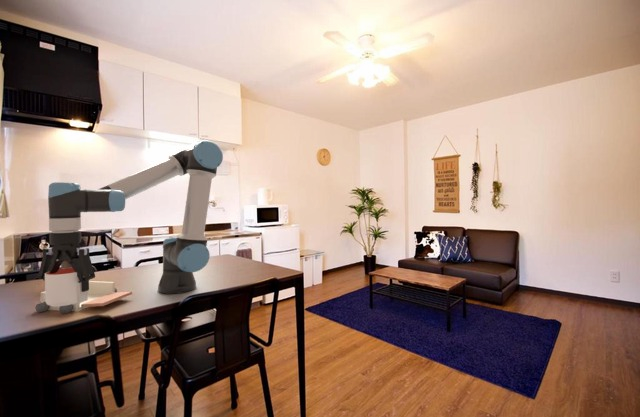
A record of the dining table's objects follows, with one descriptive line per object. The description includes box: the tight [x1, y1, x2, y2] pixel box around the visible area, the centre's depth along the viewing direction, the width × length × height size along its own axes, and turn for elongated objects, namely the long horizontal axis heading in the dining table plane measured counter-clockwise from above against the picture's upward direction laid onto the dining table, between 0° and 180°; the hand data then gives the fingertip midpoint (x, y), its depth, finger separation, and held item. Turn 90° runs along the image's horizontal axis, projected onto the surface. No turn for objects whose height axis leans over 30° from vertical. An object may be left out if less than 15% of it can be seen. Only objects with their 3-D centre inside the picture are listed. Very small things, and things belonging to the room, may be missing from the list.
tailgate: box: [81, 291, 133, 308], centre depth 106 cm, size 1×13×8 cm
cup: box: [44, 268, 84, 306], centre depth 90 cm, size 10×10×10 cm
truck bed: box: [35, 280, 118, 315], centre depth 107 cm, size 14×21×6 cm, turn 175°
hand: (67, 301), depth 90 cm, fingers closed on cup, 10 cm apart
